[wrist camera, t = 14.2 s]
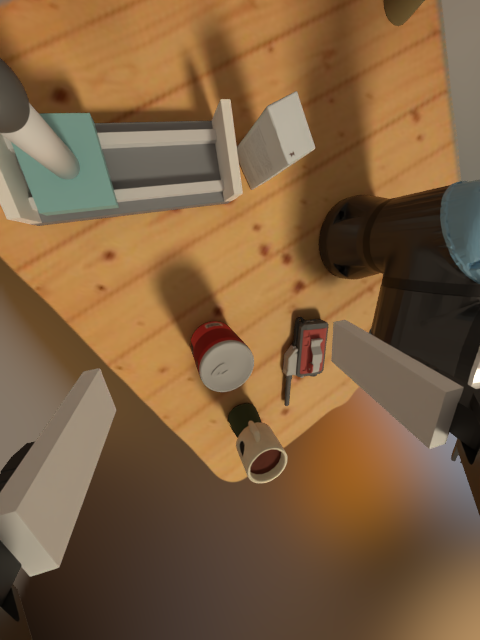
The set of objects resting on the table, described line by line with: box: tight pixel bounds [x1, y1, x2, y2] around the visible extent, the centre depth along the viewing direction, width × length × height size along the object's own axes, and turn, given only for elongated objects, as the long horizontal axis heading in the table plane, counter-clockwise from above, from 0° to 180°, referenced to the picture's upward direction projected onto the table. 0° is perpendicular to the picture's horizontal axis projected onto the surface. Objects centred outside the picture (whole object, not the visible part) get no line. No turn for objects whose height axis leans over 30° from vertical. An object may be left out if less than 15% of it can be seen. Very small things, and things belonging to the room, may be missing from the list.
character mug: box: [228, 404, 287, 483], centre depth 43 cm, size 11×7×13 cm, turn 14°
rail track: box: [0, 99, 243, 226], centre depth 29 cm, size 26×10×7 cm, turn 99°
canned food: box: [190, 321, 254, 392], centre depth 38 cm, size 8×8×11 cm
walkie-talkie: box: [282, 317, 328, 406], centre depth 49 cm, size 9×4×20 cm
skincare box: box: [237, 91, 315, 190], centre depth 32 cm, size 6×4×12 cm
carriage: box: [0, 58, 119, 216], centre depth 20 cm, size 8×9×17 cm
